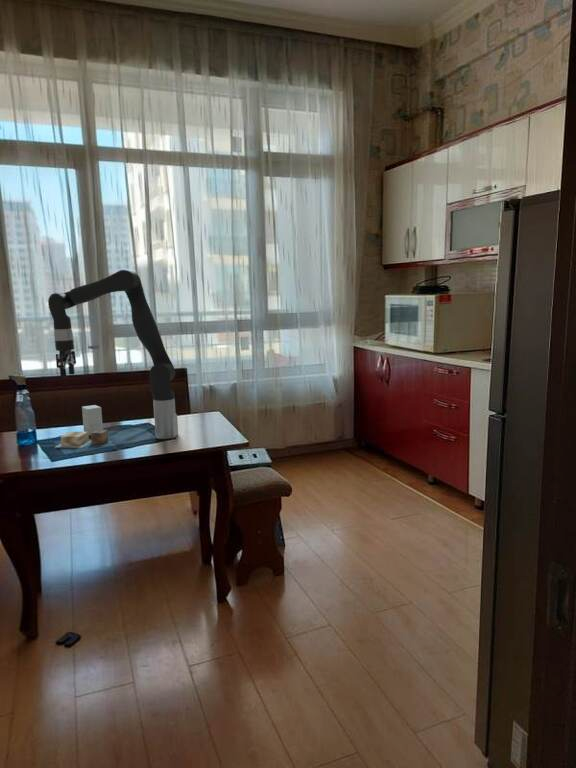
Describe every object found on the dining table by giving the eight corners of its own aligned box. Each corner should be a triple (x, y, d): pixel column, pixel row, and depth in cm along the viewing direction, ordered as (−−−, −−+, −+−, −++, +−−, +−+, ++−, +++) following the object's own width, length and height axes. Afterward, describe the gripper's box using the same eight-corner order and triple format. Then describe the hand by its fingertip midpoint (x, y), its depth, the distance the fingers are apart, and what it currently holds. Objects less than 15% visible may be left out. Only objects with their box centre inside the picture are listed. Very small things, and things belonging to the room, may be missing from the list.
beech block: (89, 440, 221) (88, 431, 220) (79, 446, 213) (78, 436, 212) (71, 440, 222) (70, 431, 221) (61, 445, 214) (60, 436, 213)
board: (95, 442, 223) (95, 439, 223) (82, 450, 211) (81, 447, 211) (69, 441, 224) (69, 439, 224) (54, 450, 212) (54, 447, 212)
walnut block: (108, 443, 221) (107, 430, 220) (103, 446, 216) (102, 433, 215) (97, 443, 221) (96, 429, 220) (91, 446, 216) (90, 432, 215)
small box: (103, 435, 234) (101, 407, 232) (89, 437, 230) (87, 409, 228) (97, 431, 240) (95, 404, 238) (83, 434, 237) (81, 406, 234)
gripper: (65, 340, 219) (69, 378, 221) (79, 337, 233) (82, 373, 235) (47, 340, 219) (52, 378, 221) (62, 338, 233) (66, 373, 235)
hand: (67, 375), depth 228 cm, fingers open, 8 cm apart
